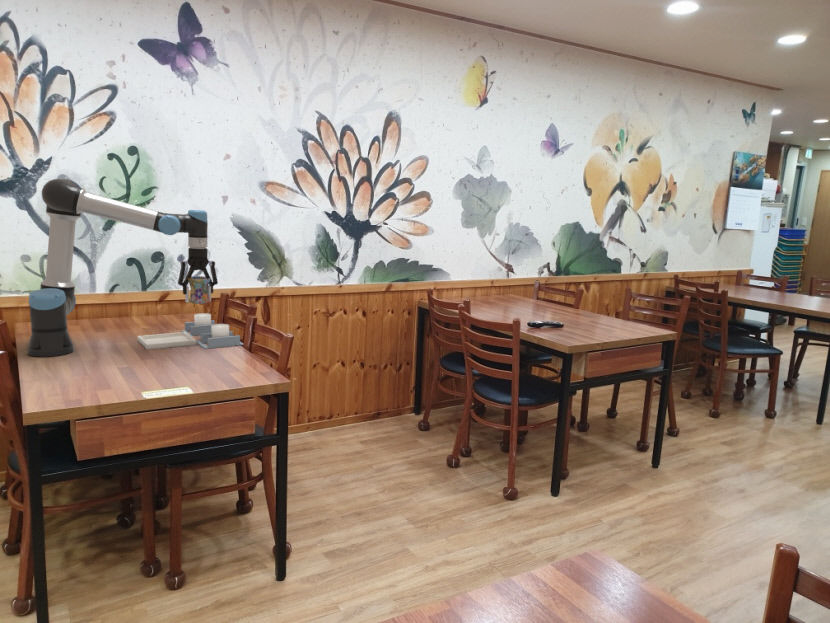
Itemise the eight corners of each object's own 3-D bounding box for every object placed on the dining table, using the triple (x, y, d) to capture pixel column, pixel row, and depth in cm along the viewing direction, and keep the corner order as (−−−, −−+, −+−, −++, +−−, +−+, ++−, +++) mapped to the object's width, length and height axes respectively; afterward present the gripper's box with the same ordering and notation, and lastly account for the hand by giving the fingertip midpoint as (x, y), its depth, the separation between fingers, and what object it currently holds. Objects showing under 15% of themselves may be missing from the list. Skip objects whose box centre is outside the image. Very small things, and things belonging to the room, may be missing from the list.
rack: (204, 349, 244) (204, 339, 244) (181, 331, 272) (181, 322, 272) (243, 344, 253) (243, 335, 253) (217, 328, 282) (217, 319, 281)
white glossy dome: (197, 334, 268) (196, 316, 267) (192, 331, 274) (192, 313, 272) (213, 333, 272) (212, 315, 271) (208, 330, 278) (208, 312, 276)
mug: (214, 304, 255) (214, 278, 253) (191, 305, 249) (191, 279, 248) (204, 299, 264) (204, 275, 263) (182, 300, 259) (182, 275, 257)
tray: (146, 349, 239) (146, 344, 239) (137, 340, 253) (137, 336, 253) (196, 344, 250) (196, 340, 250) (185, 336, 264) (185, 331, 263)
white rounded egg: (214, 347, 248) (214, 327, 247) (209, 343, 254) (209, 324, 252) (231, 345, 252) (231, 326, 251) (226, 341, 258) (225, 323, 256)
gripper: (173, 248, 244) (174, 304, 248) (226, 248, 256) (226, 301, 260) (168, 246, 250) (169, 301, 254) (220, 246, 262) (220, 298, 266)
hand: (198, 301), depth 257 cm, fingers closed on mug, 8 cm apart
